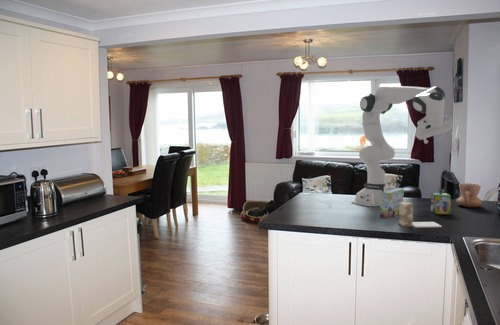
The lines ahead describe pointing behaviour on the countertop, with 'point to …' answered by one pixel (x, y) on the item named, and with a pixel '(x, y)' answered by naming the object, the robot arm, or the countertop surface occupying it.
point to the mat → (425, 224)
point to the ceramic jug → (469, 195)
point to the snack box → (391, 202)
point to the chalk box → (440, 203)
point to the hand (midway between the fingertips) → (433, 140)
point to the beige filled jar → (405, 214)
